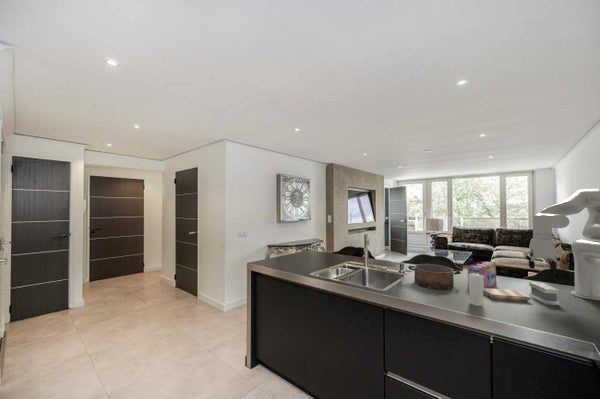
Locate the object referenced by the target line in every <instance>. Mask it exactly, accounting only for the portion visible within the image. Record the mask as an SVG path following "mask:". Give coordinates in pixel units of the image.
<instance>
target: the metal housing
mask: <svg viewBox="0 0 600 399" xmlns="http://www.w3.org/2000/svg"><path fill="white" fill-rule="evenodd" d="M528 284H529V287H530V288H531V289H530V290H531V292H529V296H530V297H531V299H532V298H533V299H534V300H536V301H537V302H540V303H542V304H544V305H549V306H550V305H551V306H560V301H559V300H558V299H557V298H558V297H557V295H559V294H560V290H559V288H555V287H554V286H553V287H552V286H551V285H548V284H546V283H544V282H537V281H536V282H533V281H531V282H530V281H529V283H528Z"/></svg>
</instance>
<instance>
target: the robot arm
mask: <svg viewBox="0 0 600 399" xmlns="http://www.w3.org/2000/svg"><path fill="white" fill-rule="evenodd" d="M584 209H587V212H588V217H587V221H586V222H585V225H584V227H583V229H582V232H581V233H582V237H583V238H585V239H578V240H575V241H573V242H572V243H571V252H572V255H573V261H574V265H573V266H574V290H572V291H570V294H571V295H572V296H575V297H578V298H582V299H586V300H592V301H600V264H599V262H598V261H597V260H600V188H598V187H597V188H584V189H583V188H582V189H579V190H576V191H575V192H573V193H572V194H571V195H570V196H569V197H568V198H566V199H565V200H564V201H562V202H558V203H555V204H553V205H551V206H550V205H549V206H548V207H545V208H543V209H542V210H540V211H539V212H538V213H536V214H533V216H532V238H531V239H530V242H529V247H528V250H526V251H523V252H522V254H523V256H524V257H525V259H526V260H527V261H528V267H529V269H532V270H534V269H535V266H536V265H535V260H536V259H546V260H547V259H548V260H550V262H549V268H550V270H552V271H557V264H558V263H559V261H560V260H561V259H562V257H563V254H562V253H560V252H557V251H556V246H555V241H554V240H553V239H554V238H555V235H554V234H553V229H565V228H567V227H568V226H569V225H570V223H571V222H570V219H569V217H567V216H573V215H577V214H579V213H580V212H582V211H583V210H584ZM596 259H597V260H596Z"/></svg>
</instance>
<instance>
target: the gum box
mask: <svg viewBox="0 0 600 399" xmlns="http://www.w3.org/2000/svg"><path fill="white" fill-rule="evenodd" d="M496 265H497V264H496V262H493V263H492V262H487V261H485V260H483V261H482V260H481V261H479V262H476V263H471V264H469V265H468V264H467V275H468V274H479V275H482V276H484V288H487V287H488V288H489V287H492V286H494V285H496V284H497V267H496ZM467 287H468V288H469V286H468V285H467Z"/></svg>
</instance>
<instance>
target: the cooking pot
mask: <svg viewBox="0 0 600 399" xmlns="http://www.w3.org/2000/svg"><path fill="white" fill-rule="evenodd" d="M407 268H408V270H410V271H413V272H414V283H415V284H416V285H417V286H419V287H422V288H426V289H428V290H436V291H437V290H438V291H447V290H452V289H453V288H454V286H455V285H454V282H455V280H454V275H460V274H461V271H460V270H459V269H453V268H451V267H449V266H445V265H441V264H434V263H433V264H432V263H420V264H415V265H408V267H407Z"/></svg>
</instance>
